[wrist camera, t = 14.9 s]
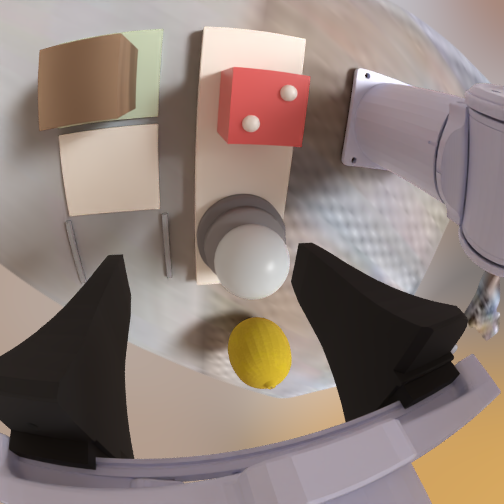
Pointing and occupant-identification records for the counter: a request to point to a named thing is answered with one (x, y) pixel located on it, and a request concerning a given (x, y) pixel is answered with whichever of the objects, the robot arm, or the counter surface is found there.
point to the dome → (247, 252)
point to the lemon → (259, 353)
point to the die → (262, 107)
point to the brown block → (86, 81)
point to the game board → (206, 150)
